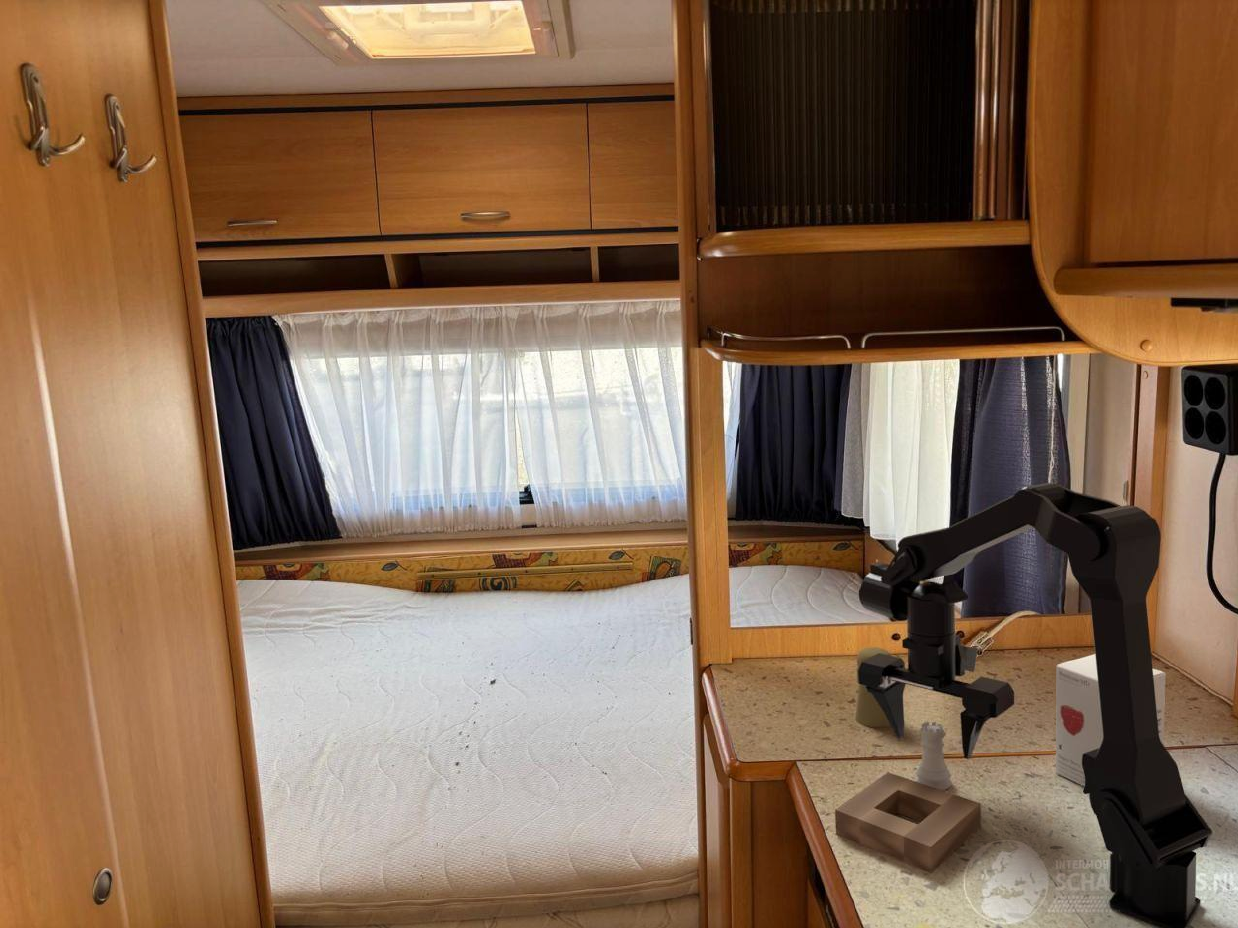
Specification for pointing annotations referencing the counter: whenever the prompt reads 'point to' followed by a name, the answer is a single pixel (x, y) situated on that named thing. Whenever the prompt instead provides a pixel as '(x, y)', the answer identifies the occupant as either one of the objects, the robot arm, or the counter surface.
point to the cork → (869, 696)
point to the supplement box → (1086, 714)
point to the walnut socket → (912, 843)
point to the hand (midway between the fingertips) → (933, 746)
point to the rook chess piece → (933, 758)
